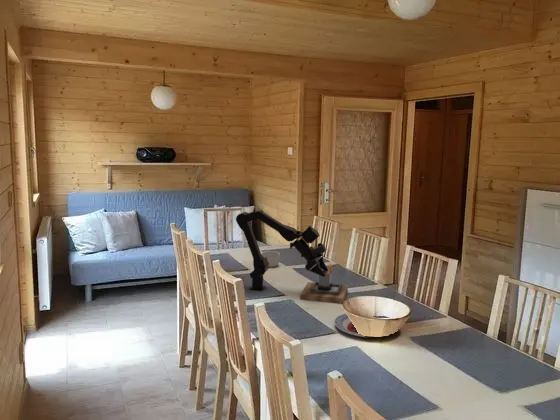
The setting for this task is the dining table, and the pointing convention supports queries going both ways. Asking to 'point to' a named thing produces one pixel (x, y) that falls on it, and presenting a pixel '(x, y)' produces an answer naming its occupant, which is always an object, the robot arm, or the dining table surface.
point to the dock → (324, 293)
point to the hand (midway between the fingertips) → (326, 273)
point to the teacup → (272, 257)
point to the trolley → (325, 280)
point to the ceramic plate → (349, 324)
